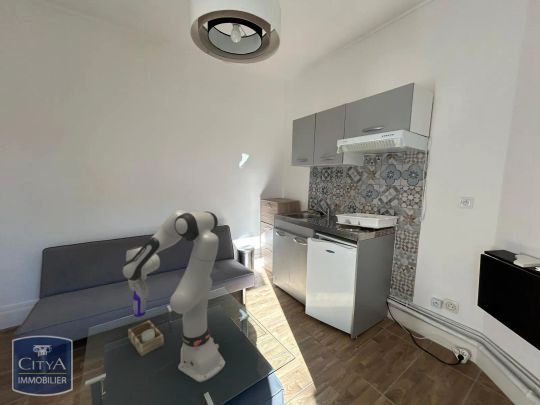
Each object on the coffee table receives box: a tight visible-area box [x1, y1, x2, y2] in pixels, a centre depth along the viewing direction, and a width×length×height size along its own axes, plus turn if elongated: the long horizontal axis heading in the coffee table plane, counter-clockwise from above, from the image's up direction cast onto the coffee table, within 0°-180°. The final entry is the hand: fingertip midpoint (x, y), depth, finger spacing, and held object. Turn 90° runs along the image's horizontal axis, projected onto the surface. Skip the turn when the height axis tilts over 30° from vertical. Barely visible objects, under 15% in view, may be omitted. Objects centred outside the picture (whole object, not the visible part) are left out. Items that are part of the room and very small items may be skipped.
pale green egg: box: [142, 329, 155, 344], centre depth 121 cm, size 6×6×7 cm
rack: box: [127, 320, 165, 357], centre depth 124 cm, size 20×11×6 cm, turn 46°
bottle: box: [132, 290, 147, 318], centre depth 126 cm, size 7×6×17 cm
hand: (139, 300), depth 126 cm, fingers closed on bottle, 7 cm apart
